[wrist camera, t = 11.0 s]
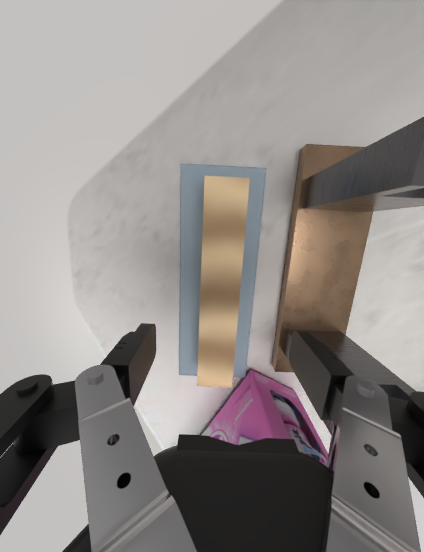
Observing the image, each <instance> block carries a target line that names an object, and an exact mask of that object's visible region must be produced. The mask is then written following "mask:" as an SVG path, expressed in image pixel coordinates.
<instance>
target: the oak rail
mask: <svg viewBox="0 0 424 552" xmlns="http://www.w3.org/2000/svg"><path fill="white" fill-rule="evenodd" d="M249 183H250V178H241V177H222V176H205V178H204V206H203V234H202V261H201V289H200V317H199V345H198V373H197V386H208V387H232V382H233V370H234V359H235V347H236V335H237V323H238V312H239V300H240V288H241V277H242V265H243V253H244V241H245V230H246V218H247V206H248V194H249Z"/></svg>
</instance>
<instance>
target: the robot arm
mask: <svg viewBox="0 0 424 552" xmlns="http://www.w3.org/2000/svg"><path fill="white" fill-rule="evenodd" d="M155 354H156V326H155V324H143V323H142V324H140V326H139V327H138V328H137V330H136V331H135V332H129V333H128V334H126V335H125V336H123V337H122V338H121V340H120V341H119V342H118V344H117V345H116V346H115V347H114V349H112V351H111V352H110V353H109V354H108V356H107V357H106V358H105V359H104V360H103V362H102V363H101V364H100V365H97V366H93V367H91V368H89V369H86V370H85V371H83V372H82V373H81V374H80V375H79V376H78V377H77V378H76V380H75V381H71V382H65V383H60V384H55V385H53V383H52V379H51V377H50V376H48V375H34V376H31V377H27V378H25V379H22V380H20V381H18V382H16V383H14V384H13V385H11V386H10V387H9V388H7V389H6V390H5V391H4V392H3V393H1V394H0V457H1V455H2V454H3V453H4V452H5V451H6V450H7V449H8V447H9V446H10V445H11V444H12V443H13V444H12V445H11V446H10V447H9V449H8V450H7V451H6V452H5V453H4V454H3V456H2V457H1V458H0V535H1V533H2V532H3V530H4V529H5V527H6V526H7V524H8V522H9V521H10V519H11V518H12V516H13V515H14V513H15V512H16V510H17V509H18V507H19V505H20V504H21V502H22V501H23V499H24V498H25V496H26V495H27V493H28V492H29V490H30V488H31V487H32V485H33V484H34V482H35V481H36V479H37V477H38V476H39V474H40V473H41V471H42V470H43V468H44V467H45V465H46V463H47V462H48V460H49V459H50V457H51V456H52V454H53V453H54V451H55V450H56V448H57V447H58V446H59V445H63V444H67V443H70V442H73V441H78V440H80V444H81V454H82V463H83V473H84V483H85V492H86V502H87V512H88V521H89V524H88V525H87V526H86V527H85V528H84V529H83V530H82V531H81V532H80V533H79V534H78V535H77V537H76V538H75V539H74V540H73V541H72V542H71V543H70V544H69V545H68V546H67V547H66V548H65V549H64V550H63V552H421V549H420V544H419V538H418V532H417V526H416V520H415V515H414V509H413V503H412V497H411V491H410V486H409V480H408V477H409V478H410V480H411V481H412V482H413V484H414V485H415V487H416V488H417V489H418V491H419V492H420V493H421V495H422V496H423V497H424V392H412V393H411V394H410V397H409V400H408V401H406V400H402V399H398V398H395V397H391V396H388V395H387V394H386V392H385V391H384V390H383V389H382V388H381V387H380V386H379V385H377V384H376V383H374V382H372V381H370V380H368V379H366V378H363V377H360V376H355V375H354V374H353V373H352V372H351V371H350V370H349V369H348V367H347V366H346V365H345V364H344V363H343V362H342V361H341V360H340V359H338V357H337V356H336V355H335V354H333V352H332V351H331V350H330V349H329V348H328V347H327V346H326V345H325V344H323V343H321V342H320V341H317V340H316V339H315V338H314V337H313V336H312V335H311V334H310V333H309V332H308V331H294V332H293V334H292V339H291V346H290V352H289V362H290V365H291V367H292V369H293V371H294V373H295V374H296V376H297V378H298V380H299V381H300V383H301V385H302V387H303V389H304V390H305V392H306V394H307V396H308V398H309V399H310V401H311V403H312V405H313V406H314V408H315V410H316V412H317V414H318V415H319V417H320V419H321V420H332V421H333V423H334V427H333V431H332V437H331V443H330V448H329V454H328V460H327V466H326V465H324V464H323V463H321V462H320V461H318V460H317V459H315V458H313V457H311V456H309V455H307V454H305V453H303V452H300V451H299V450H298V448H297V445H296V443H295V440H294V439H279V438H264V439H260V440H256V441H252V442H248V443H245V444H241V445H236V444H232V443H229V442H226V441H223V440H220V439H217V438H214V437H210V436H205V435H181V434H179V438H178V445H177V446H174V447H171V448H168V449H166V450H164V451H162V452H160V453H158V454H157V455H155V456H154V457H153V454H152V452H151V449H150V447H149V444H148V442H147V440H146V437H145V434H144V432H143V429H142V427H141V424H140V422H139V419H138V417H137V415H136V412H135V410H134V407H133V406H134V404H135V402H136V400H137V397H138V395H139V393H140V391H141V388H142V386H143V384H144V381H145V379H146V377H147V375H148V372H149V370H150V368H151V366H152V363H153V361H154V358H155Z"/></svg>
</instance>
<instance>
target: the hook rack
mask: <svg viewBox="0 0 424 552" xmlns="http://www.w3.org/2000/svg"><path fill="white" fill-rule="evenodd" d="M417 206H424V117H422V118H421V119H419V120H417V121H415V122H413V123H411V124H409V125H407V126H405V127H403V128H402V129H400V130H398V131H396V132H394V133H392V134H390V135H388V136H386V137H384V138H383V139H381V140H379V141H377V142H375V143H373V144H371V145H369V146H367V147H350V146H332V145H313V144H307V145H305V146H304V147H303V148H302V149H301V150H300V156H299V163H298V171H297V178H296V186H295V193H294V200H293V208H292V215H291V223H290V230H289V238H288V245H287V253H286V260H285V267H284V275H283V282H282V290H281V297H280V305H279V312H278V320H277V327H276V334H275V342H274V349H273V357H272V366H273V368H274V370H275V372H294V371H293V369H292V367H291V365H290V362H289V352H290V346H291V339H292V334H293V332H294V331H308V332H309V333H310V334H311V335H312V336H313V337H314V338H315V339H316V340H317V341H320V342H321V343H323V344H325V345H326V346H327V347H328V348H329V349H330V350H331V351H332V352H333V354H335V355H336V356H337V357H338V359H340V360H341V361H342V362H343V363H344V364H345V365H346V366H347V367H348V369H349V370H350V371H351V372H352V373H353V374H354V375H355V376H360V377H363V378H366V379H368V380H370V381H372V382H374V383H376V384H377V385H379V386H380V387H381V388H382V389H383V390H384V391H385V392H386V394H387V395H388V396H391V397H395V398H398V399H402V400H406V401H408V400H409V397H410V394H411V393H412V392H416V391H415V390H414V389H413V388H411V387H410V386H409V385H408V384H406V383H405V382H404V381H402V380H401V379H400V378H399V377H397V376H396V375H395V374H394V373H392V372H391V371H390V370H389V369H387V368H386V367H385V366H384V365H382V364H381V363H380V362H379V361H377V360H376V359H375V358H374V357H372V356H371V355H370V354H369V353H367V352H366V351H365V350H363V349H362V348H361V347H360V346H358V345H357V344H356V343H355V342H353V341H352V340H351V339H350V338H348V337H347V336H346V335H345V334H346V330H347V325H348V321H349V316H350V312H351V307H352V303H353V299H354V294H355V290H356V285H357V281H358V276H359V272H360V268H361V263H362V259H363V254H364V250H365V245H366V241H367V237H368V232H369V228H370V223H371V219H372V214H373V211H380V210H389V209H398V208H408V207H417ZM323 421H324V423H325V425H326V427H327V428H328V430H329V432H330V434H331V435H332V431H333V427H334V423H333V421H332V420H323Z"/></svg>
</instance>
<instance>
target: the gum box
mask: <svg viewBox="0 0 424 552" xmlns="http://www.w3.org/2000/svg"><path fill="white" fill-rule="evenodd" d="M202 435H205V436H210V437H214V438H217V439H220V440H223V441H226V442H229V443H232V444H236V445H241V444H245V443H248V442H252V441H256V440H260V439H264V438H279V439H294V440H295V443H296V445H297V448H298V450H299V451H300V452H303V453H305V454H307V455H309V456H311V457H313V458H315V459H317V460H318V461H320V462H321V463H323V464H324V465H326V466H327V460H328V453H327V451H326V449H325V447H324V445H323V443H322V441H321V439H320V437H319V435H318V434H317V432H316V430H315V428H314V426H313V424H312V422H311V420H310V418H309V416H308V415H307V413H306V411H305V409H304V407H303V405H302V404H301V402H300V400H299V398H298V396H297V394H296V393H295V391H294V390H292V389H289V388H287V387H285V386H283V385H281V384H280V383H278V382H276V381H274V380H272V379H270V378H268V377H265V376H263V375H261V374H259V373H257V372H255V371H253V370H250V371H249V373H248V375H247V376H246V377H245V379H244V380H243V381H242V383H241V384H240V385H239V387H238V388H237V389H236V390H235V391H234V393H233V394H232V395H231V397H230V398H229V400H228V401H227V402H226V404H225V405H224V406H223V408H222V409H221V410H220V411H219V412H218V414H217V415H216V416H215V418H214V419H213V420H212V422H211V424H210V425H209V426H208V428H207V429H206V430H205V431H204V432H203V434H202Z"/></svg>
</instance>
